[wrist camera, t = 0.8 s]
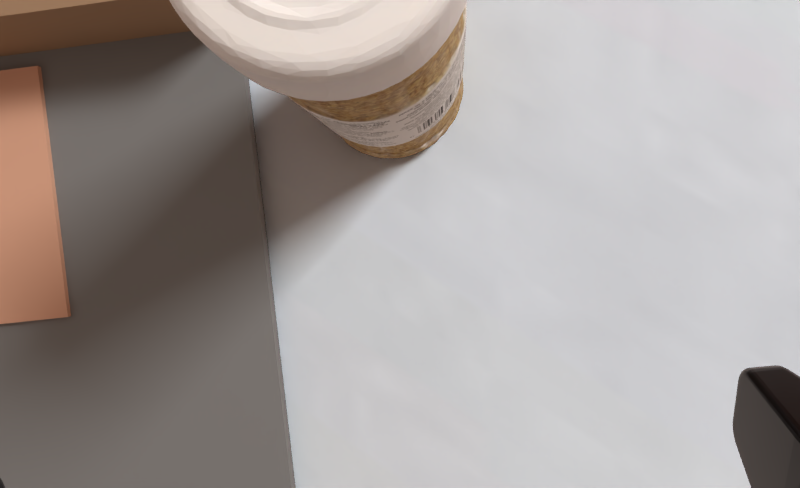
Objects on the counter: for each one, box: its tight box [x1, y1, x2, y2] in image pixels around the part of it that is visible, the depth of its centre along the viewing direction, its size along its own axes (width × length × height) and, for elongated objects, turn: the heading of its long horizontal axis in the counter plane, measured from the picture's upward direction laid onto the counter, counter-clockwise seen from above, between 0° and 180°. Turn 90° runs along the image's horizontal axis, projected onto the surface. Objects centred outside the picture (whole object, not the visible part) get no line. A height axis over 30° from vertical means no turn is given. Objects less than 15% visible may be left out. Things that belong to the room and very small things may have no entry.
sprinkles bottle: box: [169, 0, 467, 158], centre depth 16 cm, size 5×5×13 cm
